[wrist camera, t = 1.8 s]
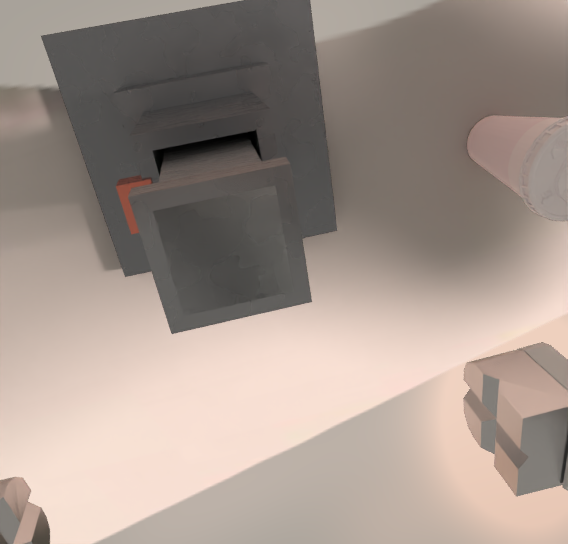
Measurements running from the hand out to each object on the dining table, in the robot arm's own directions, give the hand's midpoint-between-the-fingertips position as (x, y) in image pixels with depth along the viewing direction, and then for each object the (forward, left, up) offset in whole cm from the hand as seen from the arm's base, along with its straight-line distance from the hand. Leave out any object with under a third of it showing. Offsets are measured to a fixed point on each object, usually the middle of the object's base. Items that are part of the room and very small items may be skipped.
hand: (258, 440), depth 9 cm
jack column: (0, 0, -27) cm, 27 cm away
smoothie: (-21, +4, -28) cm, 36 cm away
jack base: (0, 0, -28) cm, 28 cm away
